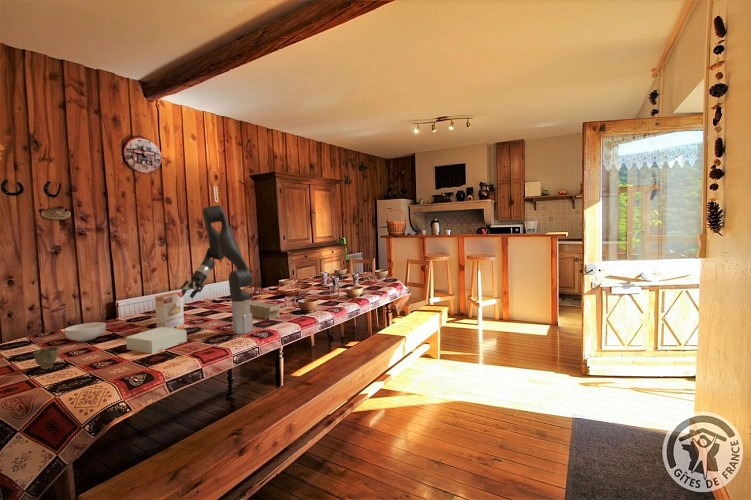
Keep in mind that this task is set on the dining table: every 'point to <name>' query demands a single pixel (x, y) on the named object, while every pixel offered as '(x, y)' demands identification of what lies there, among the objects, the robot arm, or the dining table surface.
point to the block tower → (264, 310)
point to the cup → (46, 357)
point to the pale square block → (156, 339)
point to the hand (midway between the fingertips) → (185, 296)
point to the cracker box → (170, 310)
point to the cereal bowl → (85, 331)
